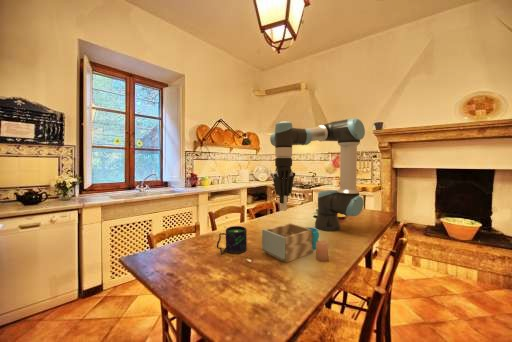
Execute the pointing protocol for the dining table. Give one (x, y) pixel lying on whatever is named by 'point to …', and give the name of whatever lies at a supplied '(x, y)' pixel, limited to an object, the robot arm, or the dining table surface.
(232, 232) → the mug
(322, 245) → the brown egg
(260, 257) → the dining table surface
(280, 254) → the panel
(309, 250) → the crate
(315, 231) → the mug
